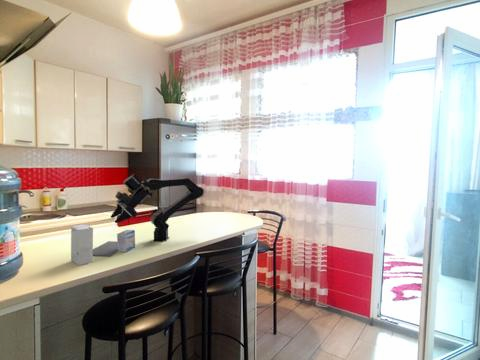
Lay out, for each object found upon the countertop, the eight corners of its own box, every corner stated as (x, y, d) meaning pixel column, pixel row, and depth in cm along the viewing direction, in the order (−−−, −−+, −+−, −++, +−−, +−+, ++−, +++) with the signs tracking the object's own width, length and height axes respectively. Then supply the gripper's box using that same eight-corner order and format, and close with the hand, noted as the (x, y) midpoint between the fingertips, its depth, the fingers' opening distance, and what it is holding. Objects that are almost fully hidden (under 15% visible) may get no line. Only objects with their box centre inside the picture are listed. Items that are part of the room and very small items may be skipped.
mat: (131, 243, 145) (131, 242, 145) (109, 256, 125) (109, 255, 125) (108, 242, 146) (108, 241, 146) (83, 255, 126) (83, 254, 126)
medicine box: (126, 252, 130) (125, 233, 130) (117, 251, 131) (116, 233, 131) (135, 247, 138) (135, 229, 138) (127, 246, 139) (126, 229, 138)
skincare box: (70, 261, 119) (69, 226, 118) (86, 257, 124) (84, 223, 123) (78, 266, 114) (77, 229, 113) (94, 261, 118) (93, 226, 117)
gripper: (122, 183, 148) (97, 204, 142) (131, 189, 133) (104, 213, 127) (136, 198, 153) (113, 219, 148) (147, 205, 138) (122, 229, 133)
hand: (113, 219), depth 139 cm, fingers open, 9 cm apart
